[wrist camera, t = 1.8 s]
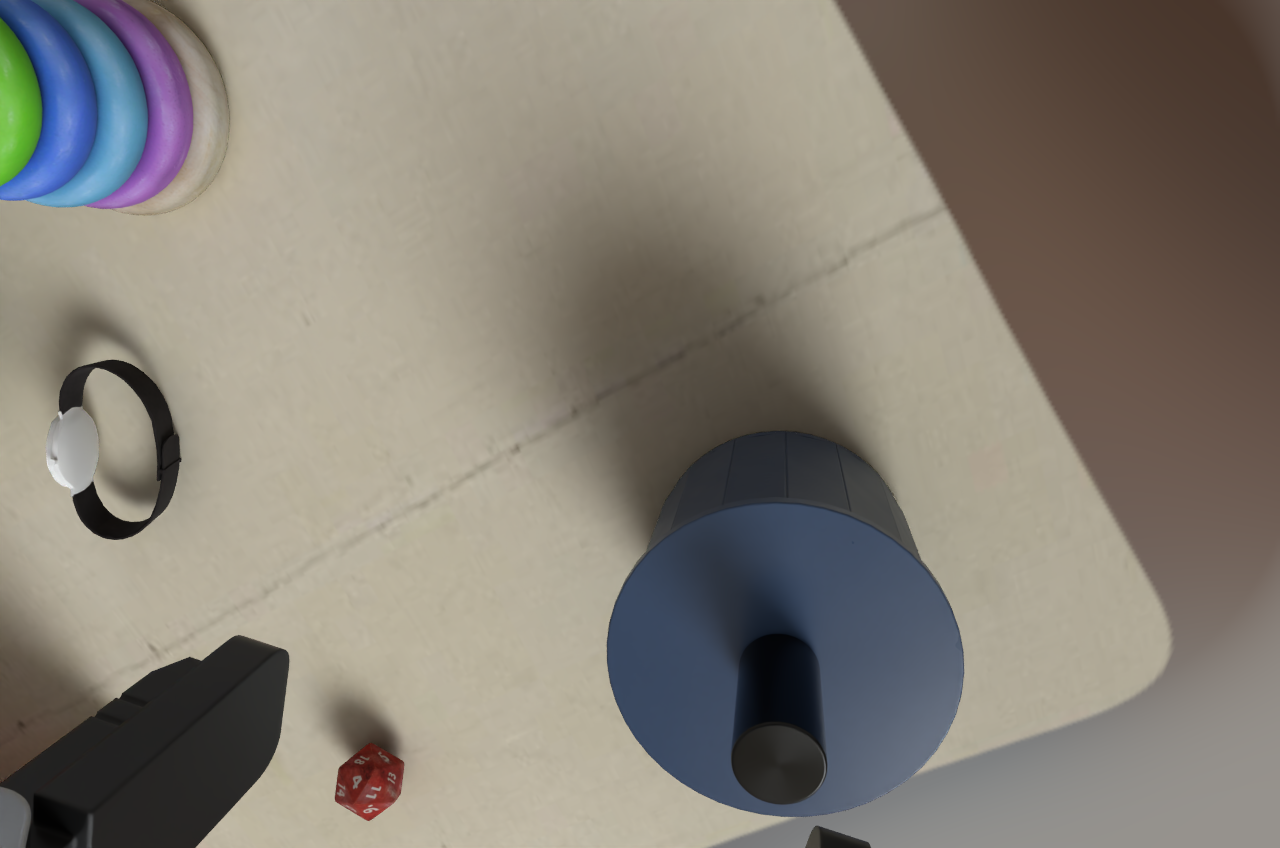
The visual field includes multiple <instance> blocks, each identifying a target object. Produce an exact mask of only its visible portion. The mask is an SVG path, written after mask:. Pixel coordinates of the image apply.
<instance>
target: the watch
mask: <svg viewBox="0 0 1280 848" xmlns="http://www.w3.org/2000/svg"><path fill="white" fill-rule="evenodd" d="M95 368H100V369H105V370H107V371H109V372H111V373H113V374H115V375H117V376H118V377H120V378H121V379H123V380H124V381H125V382H126V383H127V384H128V385H129V386H130V387H131V388H132V389H133V390H134V391H135V393H136V394H137V395H138V396H139V398H140V399H141V401H142V402H143V404H144V406H145V408H146V410H147V412H148V414H149V416H150V418H151V421H152V426H153V431H154V437H155V442H156V449H157V481H160V480H161V484H160V490H159V494H158V498H157V502H156V505H155V507H154V510H153V512H152V515H151V517H150V518H149V519H146V520H144V521H140V522H129V521H123V520H121V519H119V518H117V517H115V516H114V515H112V514H111V513H110V512H109V511H108V510H107V509H106V508H105V507H104V506H103V504H102V502H101V500H100V498H99V497H98V495H97V493H96V489H95V486H94V481H93V475H94V474H95V470H96V467H97V463H98V459H99V437H98V433H97V428H96V426H95V423H94V420H93V419H92V418H91V417H90V416H89V414H88V413H87V412H86V411H85V410H84V409H83V405H82V401H83V390H84V385H85V382H86V379H87V377H88V376H89V374H90V373H91V371H92V370H93V369H95ZM59 409H60V410H59V411H58V414H59V415H58V416H57V417H56V418H55V419H54V420H53V421H52V423H51V426H50V429H49V433H48V436H47V442H46V458H47V465H48V468H49V471H50V473H51V474H52V476H53V478H54V479H55V480H56V481H57V482H58V483H59V484H60V485H61V486H67V487H68V488H70V489H71V497H73V503H74V506H75V508H76V511H77V514H78V516H79V518H80V519H81V521H82V522H83V523H84V525H85V526H86V527H87V528H88V529H90V530H91V531H92V532H93V533H94V534H96V535H98V536H100V537H102V538H106V539H112V540H119V539H125V538H128V537H132V536H134V535H136V534H137V533H139V532H140V531H142V530H143V529H144V528H145V527H146V526H148V525H149V524H150V523H151V522H152V521H153V520H154V519H155V518H157V517H158V516H159V515H160V514H161V513H162V512H163V511H164V510H165V509H166V507H167V506H168V504H169V502H170V500H171V498H172V496H173V493H174V489H175V486H176V482H177V476H178V471H179V462H181V458H180V446H179V437H178V435H177V434H175V435H174V430H173V424H172V418H171V414H170V411H169V408H168V405H167V403H166V401H165V399H164V396H163V395H162V393H161V392H160V390H159V388H158V387H157V385H156V384H155V383H154V382H153V381H152V380H151V379H150V378H149V377H148V376H147V375H146V374H145V373H144V372H143V371H141V370H140V369H138V368H137V367H135V366H133V365H132V364H129V363H127V362H124V361H119V360H106V361H101V362H97V363H93V364H89V365H84V366H81V367H78V368H77V369H75V370H73V371H72V372H71V373H70V374H69V375H68V376H67V377H66V379H65V380H64V382H63V385H62V387H61V390H60V396H59Z"/></svg>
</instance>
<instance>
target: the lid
mask: <svg viewBox="0 0 1280 848" xmlns="http://www.w3.org/2000/svg"><path fill="white" fill-rule="evenodd" d="M607 666H608V672H609V678H610V684H611V687H612V690H613V694H614V697H615V700H616V703H617V705H618V707H619V709H620V712H621V714H622V716H623V718H624V720H625V722H626V724H627V725H628V727H629V729H630V730H631V732H632V733H633V735H634V737H635V738H636V739H637V741H638V742H639V743H640V744H641V746H642V747H643V748H644V749H645V751H646V752H647V753H648V754H649V755H650V756H651V757H652V758H653V759H654V760H655V761H656V762H657V763H658V764H659V765H660V766H661V767H662V768H663V769H664V770H666V771H667V772H668V773H669V774H671V775H672V776H673V777H675V778H676V779H677V780H679V781H680V782H681V783H683V784H685V785H686V786H688V787H690V788H691V789H693V790H694V791H696V792H698V793H700V794H702V795H704V796H706V797H708V798H710V799H713V800H715V801H717V802H719V803H722V804H725V805H728V806H731V807H734V808H737V809H740V810H744V811H749V812H753V813H758V814H764V815H773V816H781V817H807V816H817V815H825V814H830V813H835V812H840V811H844V810H848V809H852V808H854V807H857V806H860V805H863V804H866V803H869V802H871V801H873V800H875V799H877V798H879V797H881V796H883V795H885V794H887V793H889V792H890V791H892V790H893V789H895V788H896V787H898V786H899V785H901V784H902V783H904V782H905V781H907V780H908V779H909V778H910V777H911V776H912V775H914V774H915V773H916V772H917V771H918V770H919V769H920V768H922V767H923V765H924V764H925V763H926V762H927V761H928V760H929V759H930V757H931V756H932V755H933V754H934V753H935V752H936V750H937V749H938V747H939V746H940V744H941V742H942V741H943V739H944V738H945V736H946V735H947V733H948V731H949V729H950V726H951V724H952V722H953V720H954V717H955V715H956V712H957V709H958V705H959V702H960V698H961V694H962V687H963V678H964V656H963V647H962V642H961V637H960V631H959V628H958V625H957V622H956V619H955V617H954V614H953V611H952V608H951V606H950V603H949V601H948V599H947V598H946V596H945V594H944V592H943V590H942V588H941V586H940V584H939V583H938V581H937V580H936V578H935V577H934V576H933V574H932V573H931V572H930V570H929V569H928V567H927V566H926V565H925V564H924V563H923V561H922V560H921V559H920V558H919V557H918V556H917V555H916V554H915V553H914V552H913V551H912V550H911V549H910V548H909V547H908V546H907V545H905V544H904V543H903V542H902V541H900V540H899V539H898V538H897V537H895V536H894V535H893V534H892V533H890V532H889V531H887V530H885V529H884V528H882V527H880V526H879V525H877V524H876V523H874V522H872V521H871V520H869V519H866V518H864V517H862V516H860V515H858V514H855V513H853V512H851V511H849V510H846V509H843V508H839V507H836V506H833V505H830V504H826V503H823V502H817V501H812V500H806V499H800V498H784V497H767V498H752V499H746V500H741V501H736V502H731V503H727V504H723V505H720V506H717V507H714V508H711V509H708V510H705V511H703V512H701V513H699V514H697V515H695V516H693V517H691V518H689V519H686V520H685V521H683V522H682V523H680V524H679V525H677V526H675V527H674V528H672V529H671V530H669V531H668V532H666V533H665V534H664V535H663V536H662V537H661V538H659V539H658V540H657V541H656V542H655V543H654V544H653V545H651V546H650V547H649V549H648V550H647V551H646V552H645V553H644V554H643V555H642V557H641V558H640V559H639V560H638V561H637V562H636V564H635V566H634V567H633V569H632V570H631V572H630V573H629V575H628V576H627V578H626V580H625V582H624V584H623V586H622V588H621V591H620V593H619V595H618V597H617V600H616V602H615V605H614V609H613V612H612V615H611V619H610V622H609V630H608V637H607Z"/></svg>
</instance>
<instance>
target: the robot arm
mask: <svg viewBox="0 0 1280 848" xmlns="http://www.w3.org/2000/svg"><path fill="white" fill-rule="evenodd" d="M288 670H289V654H288V652H287V651H286V650H284V649H281V648H278V647H275V646H272V645H269V644H266V643H263V642H260V641H257V640H254V639H251V638H248V637H245V636H241V635H237V636H234V637H232V638H231V639H229V640H228V641H227V642H225V643H224V644H223V645H221V646H220V647H219V648H218V649H216V650H215V651H214V652H213V653H211V654H210V655H209V656H207V657H206V658H205V659H204V660H202V661H200V660H197V659H194V658H191V657H188V658H186V659H183V660H181V661H178V662H175V663H173V664H170V665H168V666H165V667H162V668H160V669H157V670H155V671H152V672H150V673H149V674H148V675H146V676H145V677H144V678H142V679H141V680H140V681H138V682H137V683H136V684H134V685H133V686H131V687H130V688H129V689H127V690H126V691H125V692H123V693H122V695H121V697H120V698H119V699H118V698H115V699H114V700H113V701H111V702H110V703H108V704H107V705H106V706H104V707H103V708H102V709H100V710H99V711H98V712H97V714H96V716H95V717H92V716H91V717H90V718H88V719H87V720H85V721H84V722H83V723H81V724H80V725H79V726H77V727H76V728H75V729H73V730H72V731H71V732H69V733H68V734H67V735H65V736H64V737H62V738H61V739H60V740H58V741H57V742H56V743H54V744H53V745H52V746H50V747H49V748H48V749H46V750H45V751H44V752H42V753H41V754H39V755H38V756H37V757H35V758H34V759H33V760H31V761H30V762H29V763H27V764H26V765H25V766H23V767H22V768H21V769H19V770H18V771H16V772H15V773H14V774H12V775H11V776H10V777H8V778H7V779H6V780H4V781H3V782H2V783H0V848H195V847H196V846H197V845H198V844H199V843H200V842H201V841H202V840H203V839H204V838H205V837H206V835H207V834H208V833H209V832H210V831H211V830H212V829H213V828H214V827H215V826H216V825H217V824H218V822H219V821H220V820H221V819H222V818H223V817H224V816H225V815H226V814H227V813H228V812H229V811H230V809H231V808H232V807H233V806H234V805H235V804H236V803H237V802H238V801H239V800H240V799H241V798H242V796H243V795H244V794H245V793H246V792H247V791H248V790H249V789H250V788H251V787H252V786H253V784H254V783H255V782H256V781H257V780H258V779H259V778H260V777H261V775H262V774H263V773H264V771H265V770H266V768H267V766H268V765H269V763H270V761H271V759H272V757H273V755H274V753H275V750H276V748H277V745H278V742H279V738H280V733H281V725H282V717H283V709H284V702H285V694H286V686H287V678H288ZM805 848H871V847H870V844H869V843H868V842H866V841H863V840H859V839H856V838H853V837H850V836H847V835H844V834H841V833H838V832H835V831H832V830H829V829H825V828H823V827H820V826H815V827H814V829H813V830H812V832H811V834H810V837H809V839H808V842H807V845H806V847H805Z"/></svg>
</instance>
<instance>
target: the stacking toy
mask: <svg viewBox="0 0 1280 848" xmlns="http://www.w3.org/2000/svg"><path fill="white" fill-rule="evenodd" d="M229 125H230V123H229V108H228V100H227V95H226V91H225V87H224V84H223V81H222V78H221V75H220V72H219V70H218V68H217V66H216V64H215V62H214V60H213V58H212V57H211V55H210V53H209V52H208V50H207V49H206V47H205V46H204V44H203V43H202V42H201V41H200V40H199V39H198V37H197V36H196V35H195V34H194V33H193V32H192V31H191V30H190V29H189V28H188V27H187V26H186V25H185V24H184V23H183V22H182V21H181V20H180V19H178V18H177V17H176V16H175V15H173V14H172V13H170V12H169V11H167V10H166V9H164V8H163V7H161V6H159V5H157V4H155V3H153V2H151V1H148V0H0V199H1V200H27V201H30V202H33V203H36V204H40V205H45V206H52V207H77V206H83V205H84V206H87V207H93V208H100V209H112V210H115V211H118V212H122V213H127V214H133V215H156V214H162V213H167V212H170V211H173V210H176V209H178V208H181V207H183V206H185V205H186V204H188V203H190V202H191V201H193V200H194V199H195V198H197V197H198V196H199V195H200V194H201V193H202V192H203V191H204V190H206V189H207V187H208V186H209V185H210V183H211V182H212V181H213V180H214V178H215V176H216V174H217V173H218V171H219V169H220V167H221V164H222V162H223V160H224V157H225V153H226V149H227V145H228V138H229Z"/></svg>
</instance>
